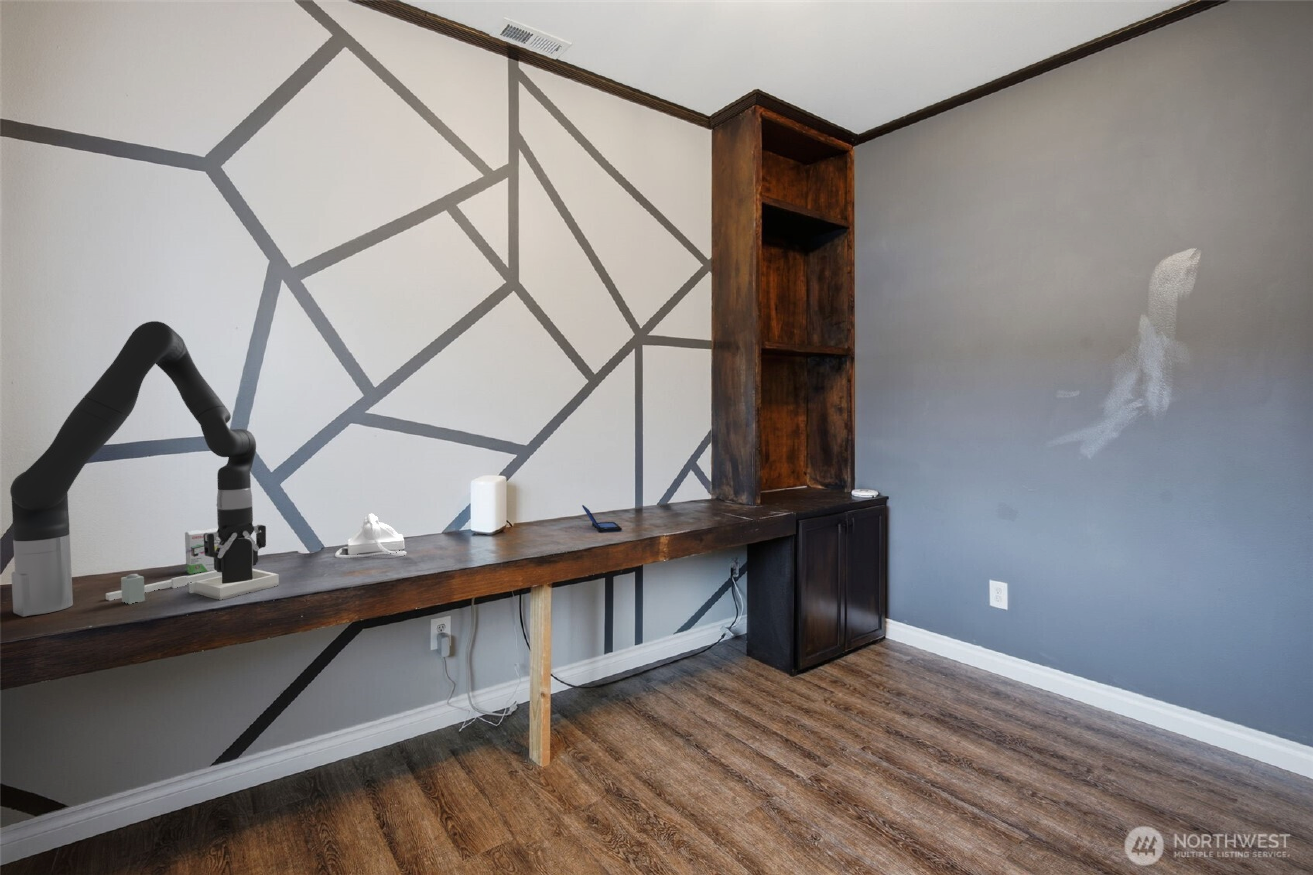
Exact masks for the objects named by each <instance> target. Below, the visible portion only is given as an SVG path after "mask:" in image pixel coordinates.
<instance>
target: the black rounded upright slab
mask: <svg viewBox="0 0 1313 875" xmlns="http://www.w3.org/2000/svg"><path fill="white" fill-rule="evenodd" d="M224 544H225V542H222V543H221V545H224ZM220 549H221V548H220ZM222 558H224V572H221V573H222V583H223V584H225V583H235V582H242V581H248V580H252V579H253V569H254V567H253V545H252V541H251V540H250V539H249V538H238V539H235V540H233V542H232V544H231V545H230V547H229V549H228V550H226V552H225V553H224V555H223V557H222Z"/></svg>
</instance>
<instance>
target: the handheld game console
mask: <svg viewBox="0 0 1313 875" xmlns="http://www.w3.org/2000/svg"><path fill="white" fill-rule="evenodd" d="M581 507H582V509H583V510H584V511H585V514H586V515H587V517H588V518H589V520H590V522H592V523H591V526H592V527H593V528H594V529H596V531H597V532H598V533H615V532H622V530H623V529H622V526H620V525H619V524H618V523H616V522H614V521H604V522H601V521H599V522H597V519H595V517H594V515H593V513H592V512H591V510H590V509H588V508H587V507H586V506H585V505H583V504H582V506H581Z"/></svg>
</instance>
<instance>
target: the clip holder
mask: <svg viewBox="0 0 1313 875" xmlns="http://www.w3.org/2000/svg"><path fill="white" fill-rule="evenodd" d="M219 576H222V573H221V572H217V571H216V570H214V571H207V572H201V573H195V574H190V575H183V576H177V577H172V578H171V579H167V580H164V581H163V580H162V581H157V582H154V583H148V584H145V577H144V576H142V575H139V574H138V573H131V574H127V575H126V576H123V577H120V587H121V588H120V589H121V590H116V591H111V592H107V593H105V600H106V601H114V599H115V600H118V599H121V603H124V602H125V604H127V603H128V604H127V605H133V604H132V603H134V604H136V603H135V602H138V603H141V602H142V603H143V602H145V601H146V598H145V596H146V593H150V592H154V590H155V591H159V590H158V589H160V590H163V589H168V588H171V589H177V587H178V588H182V587H186V586H185V585H188V593H189V594H194V593H195V582H196V581H201V580H205V579H210V578H214V577H219ZM190 582H192V583H190ZM145 592H146V593H145Z"/></svg>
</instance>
